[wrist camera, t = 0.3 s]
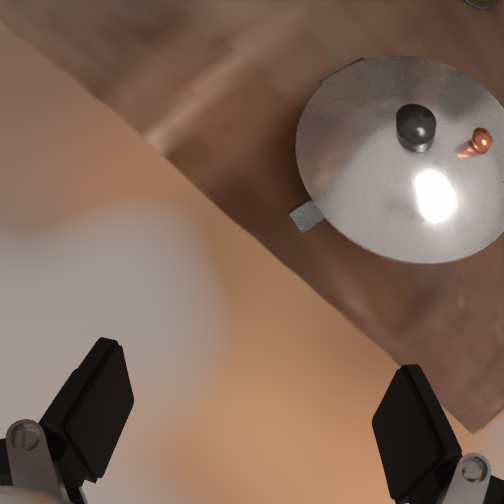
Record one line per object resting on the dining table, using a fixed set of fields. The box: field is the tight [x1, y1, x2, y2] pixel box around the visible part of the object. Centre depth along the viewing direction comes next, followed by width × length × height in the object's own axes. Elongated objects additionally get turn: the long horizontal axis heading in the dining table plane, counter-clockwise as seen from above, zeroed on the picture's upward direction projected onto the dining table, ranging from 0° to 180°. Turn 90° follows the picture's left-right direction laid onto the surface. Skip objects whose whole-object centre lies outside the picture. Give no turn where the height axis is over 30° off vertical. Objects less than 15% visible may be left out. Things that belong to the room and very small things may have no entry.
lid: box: [295, 56, 504, 265], centre depth 19 cm, size 19×20×3 cm
